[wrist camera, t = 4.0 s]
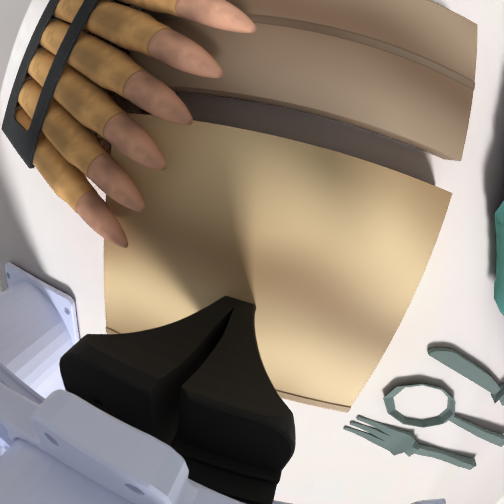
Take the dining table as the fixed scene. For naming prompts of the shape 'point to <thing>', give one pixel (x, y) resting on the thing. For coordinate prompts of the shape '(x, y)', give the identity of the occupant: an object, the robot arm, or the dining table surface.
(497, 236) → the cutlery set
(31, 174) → the dining table surface
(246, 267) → the plank
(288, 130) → the dining table surface
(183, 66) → the ammunition clip
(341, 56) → the floor row
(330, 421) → the dining table surface
